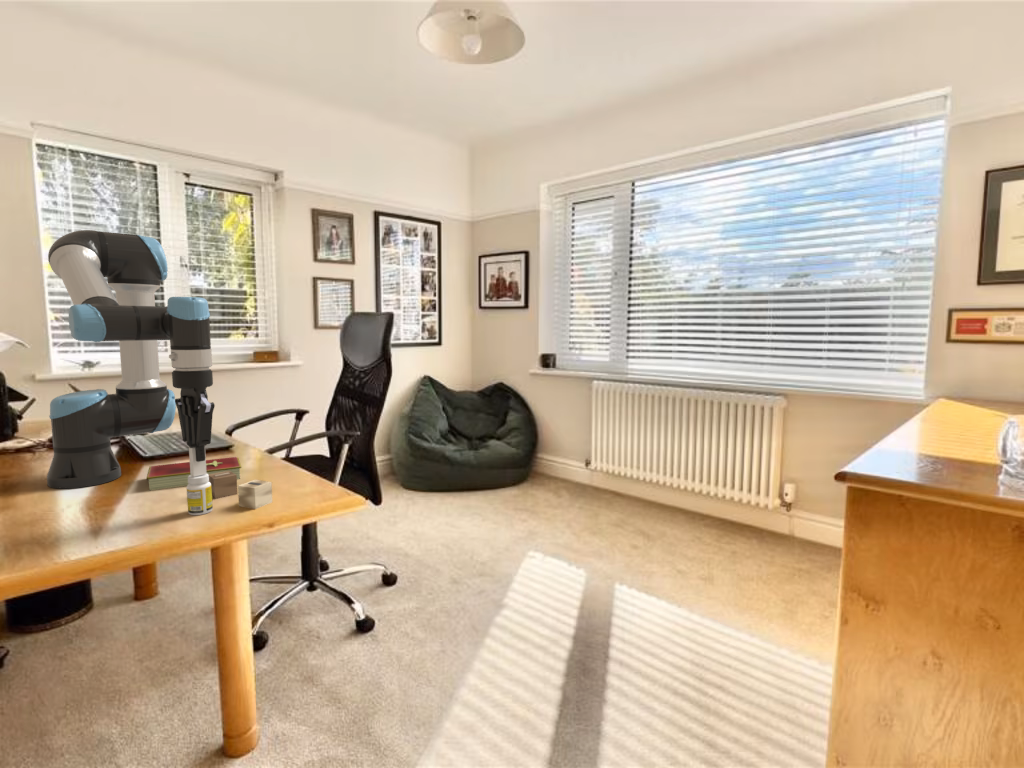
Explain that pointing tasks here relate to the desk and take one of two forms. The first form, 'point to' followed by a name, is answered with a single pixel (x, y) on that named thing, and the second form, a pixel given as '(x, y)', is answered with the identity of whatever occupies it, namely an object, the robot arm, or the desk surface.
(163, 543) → the desk surface
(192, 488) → the supplement bottle
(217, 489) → the walnut block
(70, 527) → the desk surface
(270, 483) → the beech block
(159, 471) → the hardcover book
